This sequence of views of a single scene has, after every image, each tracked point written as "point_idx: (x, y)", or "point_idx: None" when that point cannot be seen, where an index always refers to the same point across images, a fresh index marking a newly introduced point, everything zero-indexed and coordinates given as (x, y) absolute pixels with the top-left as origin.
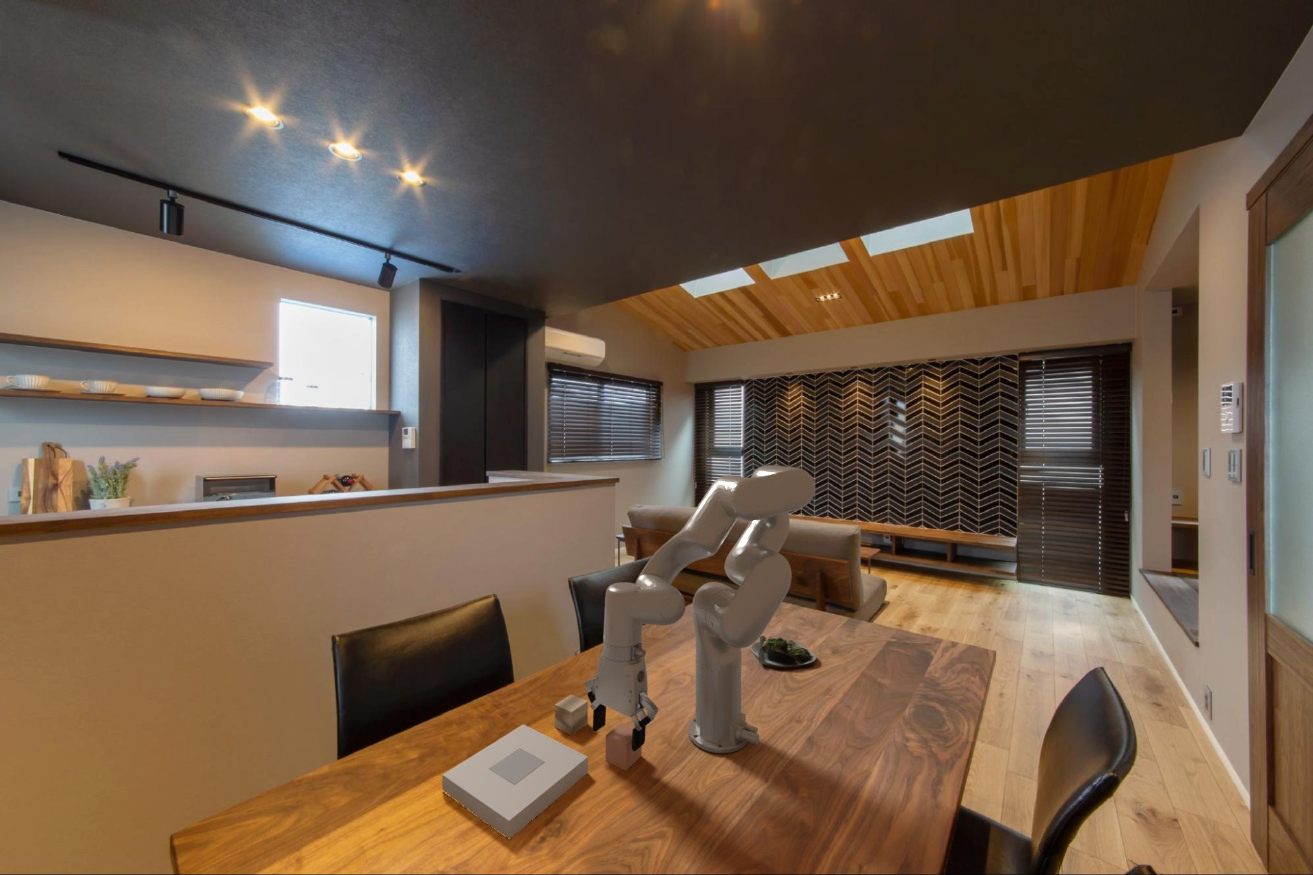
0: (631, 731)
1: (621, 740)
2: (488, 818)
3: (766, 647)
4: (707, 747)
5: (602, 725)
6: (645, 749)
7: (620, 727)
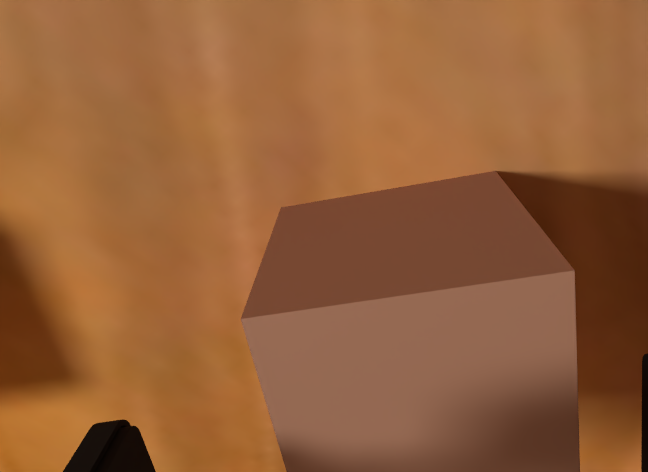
0: (474, 356)
1: None
2: None
3: None
4: None
5: (143, 467)
6: (464, 83)
7: (313, 386)
